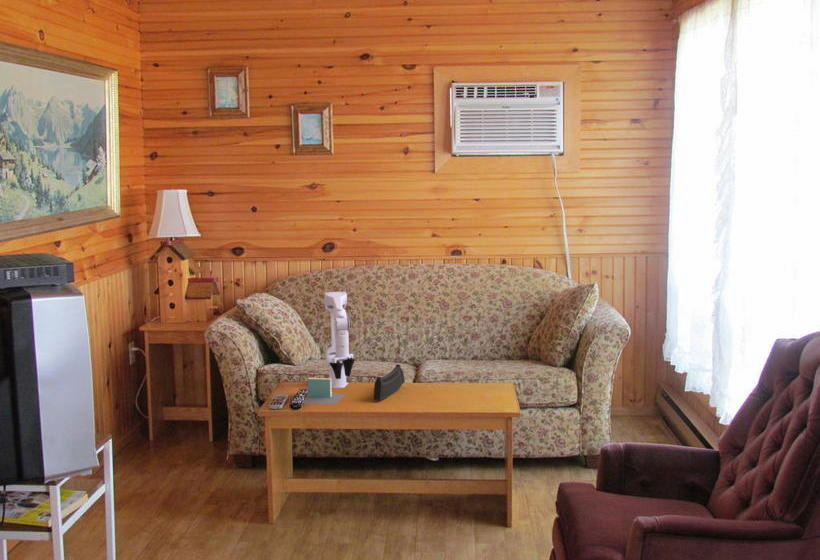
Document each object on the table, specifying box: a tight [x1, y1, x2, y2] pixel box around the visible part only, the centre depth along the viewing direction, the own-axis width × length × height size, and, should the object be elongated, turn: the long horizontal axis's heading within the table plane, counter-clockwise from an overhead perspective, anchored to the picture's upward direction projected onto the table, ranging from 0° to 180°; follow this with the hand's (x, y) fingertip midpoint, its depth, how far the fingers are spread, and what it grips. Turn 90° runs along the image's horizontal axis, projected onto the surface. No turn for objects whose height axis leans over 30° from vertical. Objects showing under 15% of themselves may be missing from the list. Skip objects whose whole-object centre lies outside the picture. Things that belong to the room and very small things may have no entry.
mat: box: [289, 393, 346, 406], centre depth 399 cm, size 18×20×1 cm
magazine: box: [372, 363, 405, 401], centre depth 405 cm, size 17×3×30 cm
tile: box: [307, 377, 333, 398], centre depth 401 cm, size 2×10×8 cm, turn 79°
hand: (342, 377), depth 394 cm, fingers open, 7 cm apart
